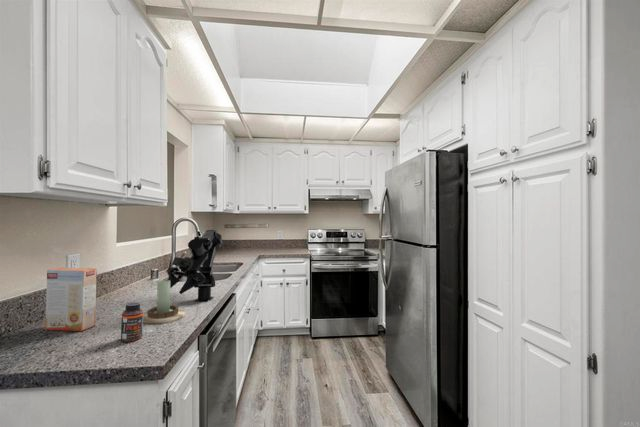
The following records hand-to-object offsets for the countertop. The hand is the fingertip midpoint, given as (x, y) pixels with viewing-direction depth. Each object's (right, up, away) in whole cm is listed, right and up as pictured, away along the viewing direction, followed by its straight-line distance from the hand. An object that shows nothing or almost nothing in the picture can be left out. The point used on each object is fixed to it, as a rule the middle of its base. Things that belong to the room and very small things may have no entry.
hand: (172, 291), depth 120 cm
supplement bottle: (-1, -9, -25) cm, 27 cm away
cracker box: (-28, -9, -17) cm, 33 cm away
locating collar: (-2, -9, -4) cm, 10 cm away
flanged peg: (-2, -8, -4) cm, 9 cm away
